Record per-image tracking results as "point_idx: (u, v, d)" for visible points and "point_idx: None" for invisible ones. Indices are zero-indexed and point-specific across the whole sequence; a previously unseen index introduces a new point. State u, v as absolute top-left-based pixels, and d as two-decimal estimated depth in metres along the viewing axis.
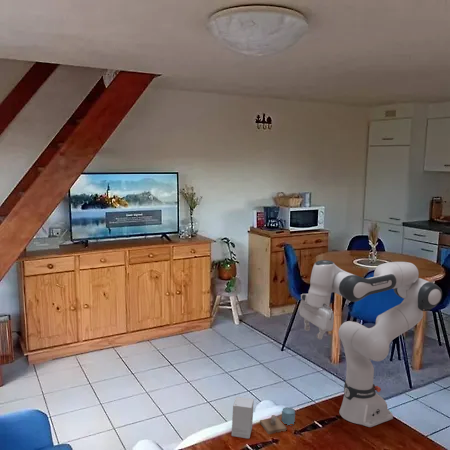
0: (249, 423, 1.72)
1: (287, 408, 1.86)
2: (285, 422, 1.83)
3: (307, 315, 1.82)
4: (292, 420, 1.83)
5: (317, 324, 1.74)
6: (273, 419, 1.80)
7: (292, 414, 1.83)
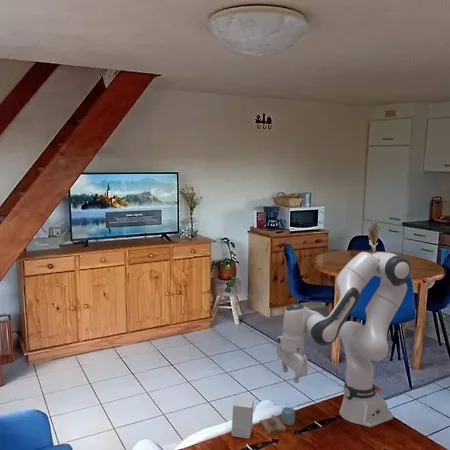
0: (249, 423, 1.72)
1: (287, 408, 1.86)
2: (285, 422, 1.83)
3: (283, 358, 1.85)
4: (292, 420, 1.83)
5: (292, 368, 1.77)
6: (273, 419, 1.80)
7: (292, 414, 1.83)
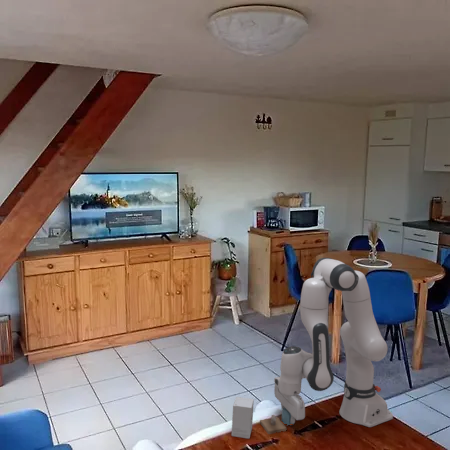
0: (249, 423, 1.72)
1: None
2: (285, 422, 1.83)
3: (281, 399, 1.87)
4: None
5: (290, 411, 1.79)
6: (273, 419, 1.80)
7: None
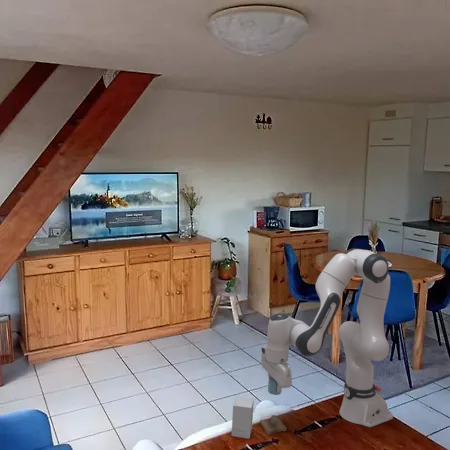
0: (249, 423, 1.72)
1: None
2: (272, 391, 1.77)
3: (268, 369, 1.81)
4: None
5: (277, 380, 1.74)
6: (273, 419, 1.80)
7: None
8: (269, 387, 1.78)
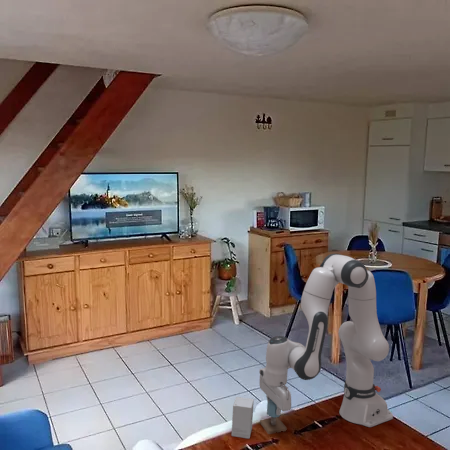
0: (249, 423, 1.72)
1: None
2: (271, 414, 1.78)
3: (266, 391, 1.82)
4: None
5: (276, 403, 1.75)
6: (273, 419, 1.80)
7: None
8: (268, 410, 1.79)
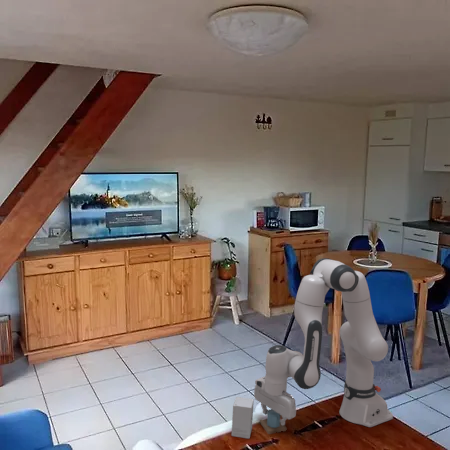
0: (249, 423, 1.72)
1: (271, 410, 1.82)
2: (272, 425, 1.79)
3: (265, 401, 1.82)
4: (279, 421, 1.80)
5: (279, 412, 1.76)
6: None
7: (279, 415, 1.79)
8: (269, 421, 1.79)
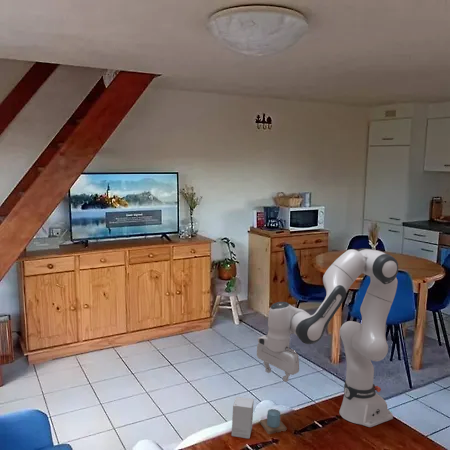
0: (249, 423, 1.72)
1: (271, 410, 1.82)
2: (272, 425, 1.79)
3: (267, 359, 1.80)
4: (279, 421, 1.80)
5: (282, 368, 1.74)
6: None
7: (279, 415, 1.79)
8: (269, 421, 1.79)
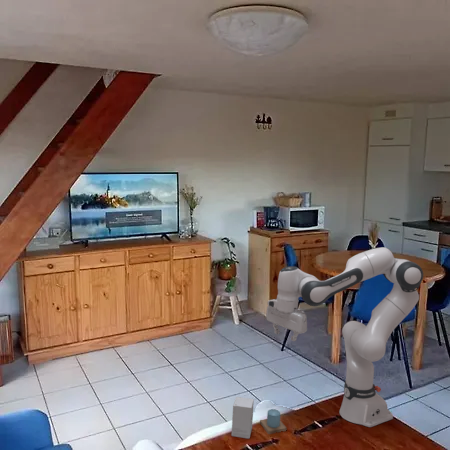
0: (249, 423, 1.72)
1: (271, 410, 1.82)
2: (272, 425, 1.79)
3: (277, 320, 1.90)
4: (279, 421, 1.80)
5: (291, 328, 1.84)
6: None
7: (279, 415, 1.79)
8: (269, 421, 1.79)
